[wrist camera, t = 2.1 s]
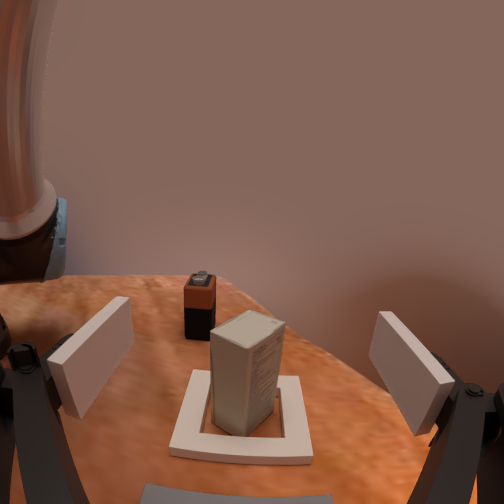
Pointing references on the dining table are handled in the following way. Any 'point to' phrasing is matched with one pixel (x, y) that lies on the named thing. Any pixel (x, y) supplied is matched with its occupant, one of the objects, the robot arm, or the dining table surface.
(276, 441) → the white square frame
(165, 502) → the grey mat
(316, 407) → the dining table surface
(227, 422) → the skincare box
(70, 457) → the robot arm
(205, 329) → the battery
